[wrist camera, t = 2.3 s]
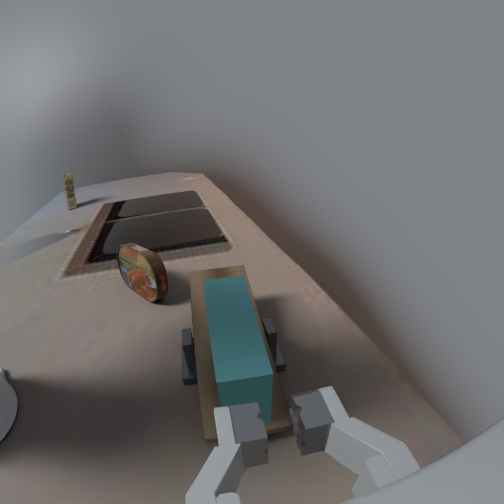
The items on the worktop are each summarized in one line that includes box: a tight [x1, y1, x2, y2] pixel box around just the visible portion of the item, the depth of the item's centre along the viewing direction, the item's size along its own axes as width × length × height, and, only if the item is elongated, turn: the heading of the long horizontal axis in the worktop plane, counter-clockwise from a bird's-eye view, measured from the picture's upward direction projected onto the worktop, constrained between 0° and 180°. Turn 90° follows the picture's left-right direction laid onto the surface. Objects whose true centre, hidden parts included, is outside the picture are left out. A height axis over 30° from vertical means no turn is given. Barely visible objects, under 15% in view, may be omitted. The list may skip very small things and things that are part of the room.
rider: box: [203, 276, 273, 424], centre depth 28 cm, size 4×12×8 cm, turn 11°
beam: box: [189, 265, 292, 443], centre depth 36 cm, size 8×26×2 cm, turn 11°
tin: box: [117, 243, 168, 302], centre depth 53 cm, size 15×3×8 cm, turn 47°
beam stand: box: [182, 318, 286, 385], centre depth 41 cm, size 12×16×5 cm
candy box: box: [63, 173, 77, 210], centre depth 120 cm, size 9×4×15 cm, turn 35°
